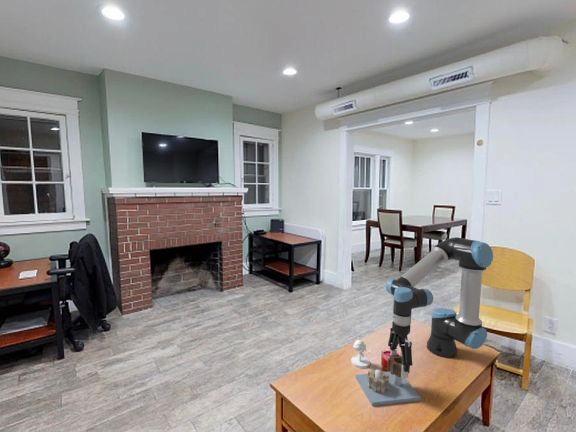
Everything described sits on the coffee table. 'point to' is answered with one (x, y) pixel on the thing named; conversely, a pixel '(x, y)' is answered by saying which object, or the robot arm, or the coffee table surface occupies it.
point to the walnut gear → (395, 365)
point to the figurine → (360, 355)
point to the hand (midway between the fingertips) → (398, 370)
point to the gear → (378, 382)
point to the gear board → (395, 394)
